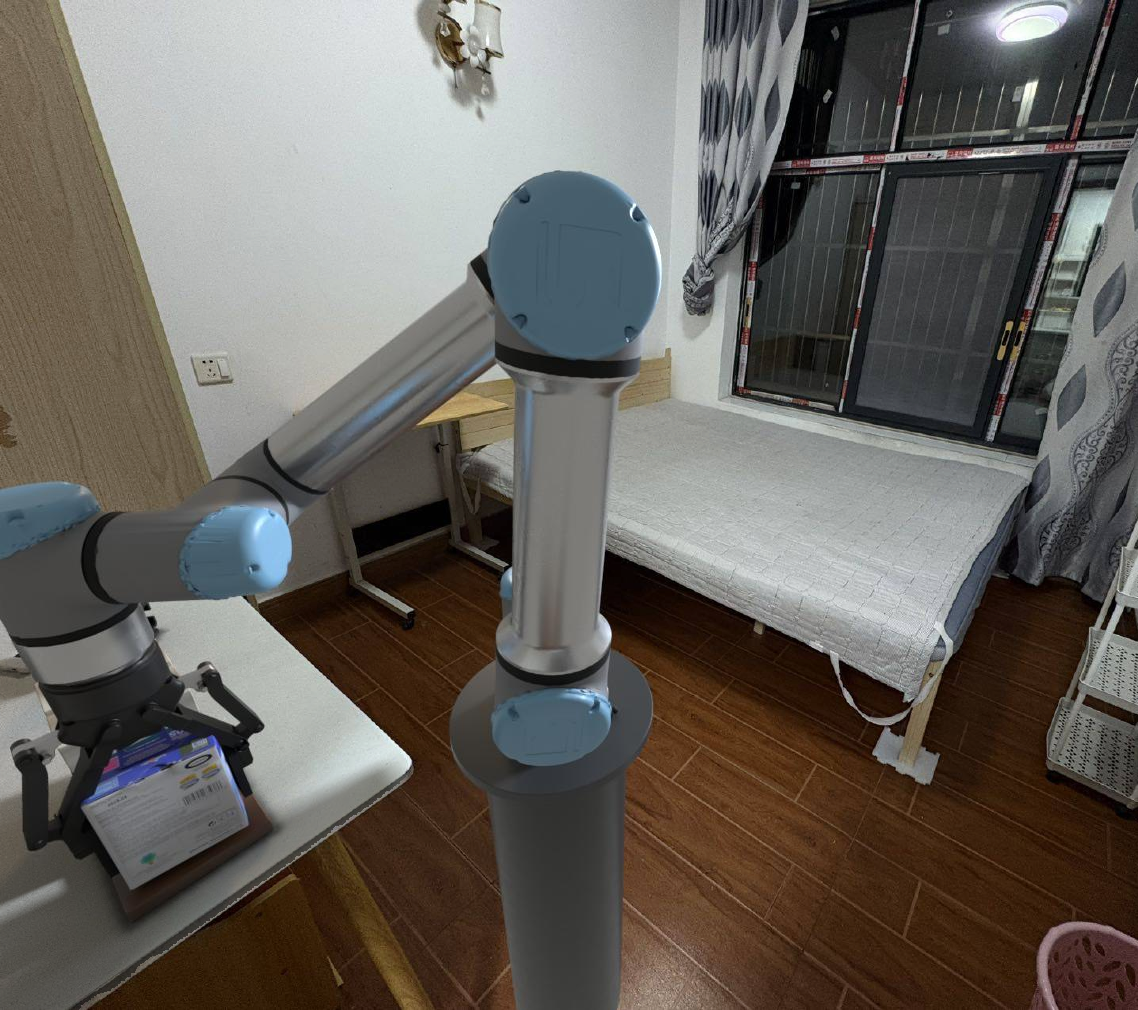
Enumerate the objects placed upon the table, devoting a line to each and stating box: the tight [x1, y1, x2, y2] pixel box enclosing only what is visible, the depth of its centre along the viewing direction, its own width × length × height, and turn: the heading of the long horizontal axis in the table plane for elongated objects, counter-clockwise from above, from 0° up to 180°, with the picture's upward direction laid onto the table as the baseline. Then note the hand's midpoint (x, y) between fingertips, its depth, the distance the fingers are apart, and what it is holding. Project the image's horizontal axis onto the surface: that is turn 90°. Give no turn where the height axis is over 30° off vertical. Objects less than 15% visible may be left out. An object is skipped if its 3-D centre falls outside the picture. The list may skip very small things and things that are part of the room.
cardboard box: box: [33, 638, 275, 923], centre depth 59 cm, size 23×12×16 cm, turn 53°
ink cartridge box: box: [80, 727, 249, 890], centre depth 55 cm, size 10×6×14 cm, turn 137°
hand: (183, 824), depth 57 cm, fingers closed on ink cartridge box, 10 cm apart
